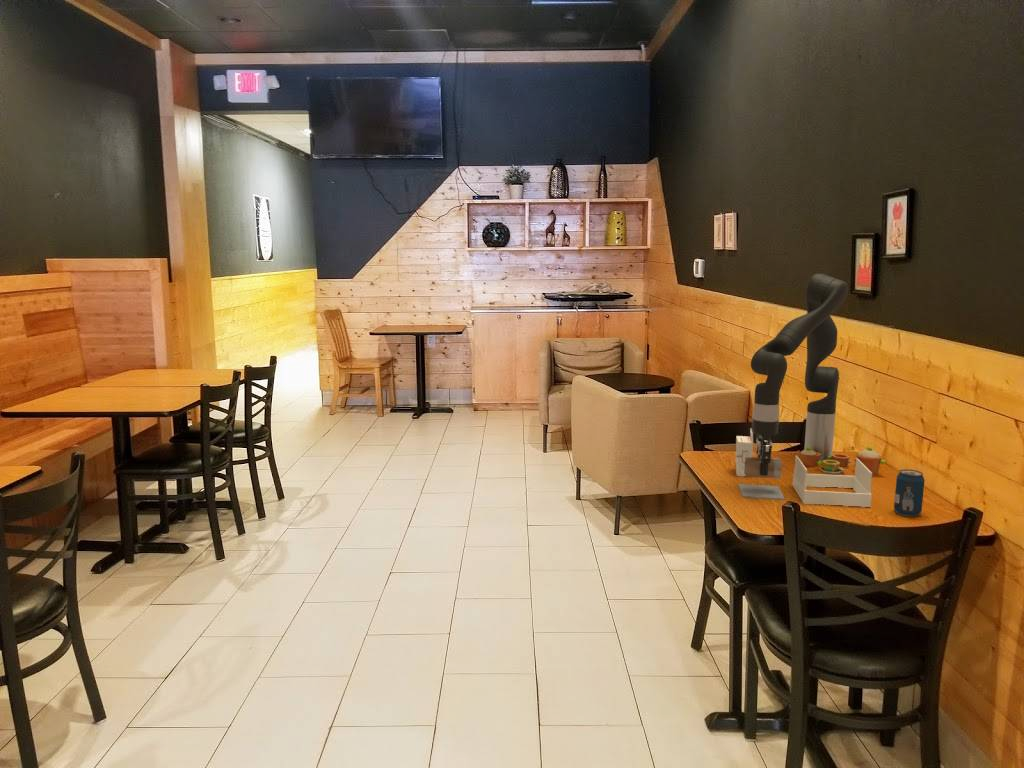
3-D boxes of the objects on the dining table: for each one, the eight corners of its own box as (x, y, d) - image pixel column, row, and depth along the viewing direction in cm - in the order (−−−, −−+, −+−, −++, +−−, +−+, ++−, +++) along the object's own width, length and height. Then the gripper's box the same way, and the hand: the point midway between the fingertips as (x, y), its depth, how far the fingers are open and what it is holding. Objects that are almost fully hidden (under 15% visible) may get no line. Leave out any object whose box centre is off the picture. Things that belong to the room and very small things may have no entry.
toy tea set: (876, 466, 259) (879, 438, 258) (889, 479, 244) (892, 450, 243) (797, 461, 264) (799, 435, 263) (805, 474, 249) (807, 446, 248)
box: (744, 472, 232) (745, 456, 231) (778, 474, 230) (779, 458, 229) (746, 476, 228) (747, 460, 227) (780, 478, 226) (781, 462, 225)
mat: (738, 485, 237) (738, 483, 237) (778, 487, 235) (778, 486, 235) (742, 497, 225) (742, 495, 225) (784, 499, 223) (784, 498, 223)
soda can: (912, 508, 215) (916, 468, 213) (926, 517, 208) (930, 475, 206) (888, 509, 215) (892, 468, 213) (901, 517, 208) (905, 475, 206)
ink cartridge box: (734, 469, 255) (736, 426, 252) (749, 469, 254) (751, 427, 251) (736, 476, 246) (738, 432, 244) (752, 477, 245) (754, 433, 243)
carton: (792, 485, 237) (794, 454, 235) (854, 488, 234) (856, 457, 232) (804, 503, 219) (806, 470, 218) (870, 507, 216) (873, 474, 214)
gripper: (782, 423, 218) (779, 480, 221) (774, 413, 232) (771, 466, 235) (755, 422, 220) (752, 478, 223) (749, 412, 233) (746, 465, 236)
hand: (762, 472), depth 229 cm, fingers closed on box, 4 cm apart
